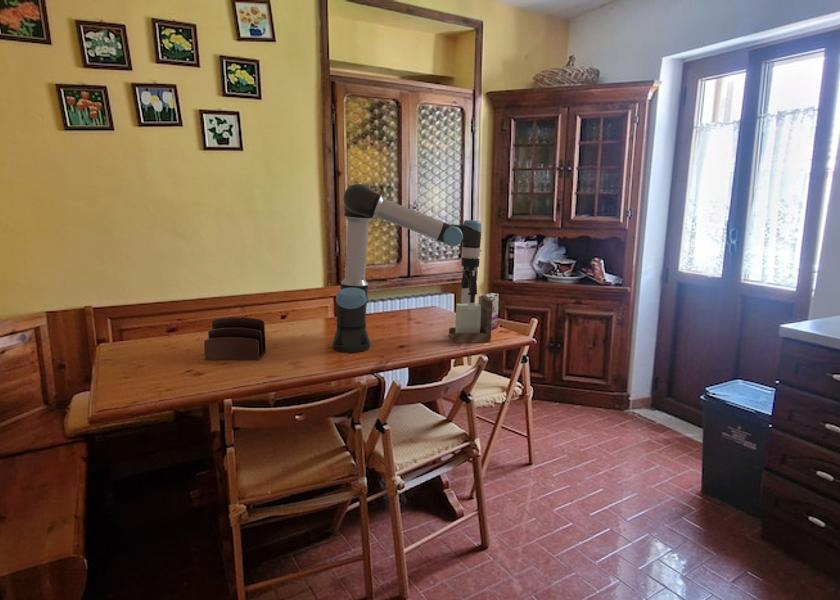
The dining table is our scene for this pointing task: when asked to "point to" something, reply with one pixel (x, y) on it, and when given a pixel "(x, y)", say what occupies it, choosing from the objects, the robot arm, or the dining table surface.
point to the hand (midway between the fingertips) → (467, 306)
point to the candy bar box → (493, 308)
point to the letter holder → (235, 339)
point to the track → (484, 325)
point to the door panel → (467, 319)
